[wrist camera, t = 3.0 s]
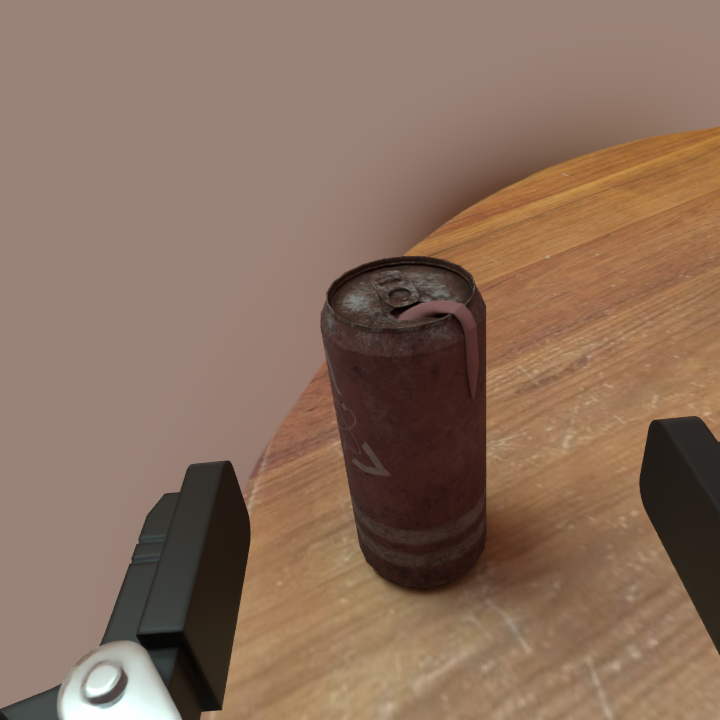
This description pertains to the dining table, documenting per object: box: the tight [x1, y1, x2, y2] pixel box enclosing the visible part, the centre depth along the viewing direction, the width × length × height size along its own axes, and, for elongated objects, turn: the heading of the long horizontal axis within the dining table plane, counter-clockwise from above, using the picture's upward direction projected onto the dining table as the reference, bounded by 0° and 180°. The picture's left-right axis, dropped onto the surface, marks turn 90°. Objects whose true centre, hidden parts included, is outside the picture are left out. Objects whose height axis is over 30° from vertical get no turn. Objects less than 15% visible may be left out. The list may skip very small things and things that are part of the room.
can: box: [321, 256, 486, 588], centre depth 26 cm, size 6×6×14 cm
